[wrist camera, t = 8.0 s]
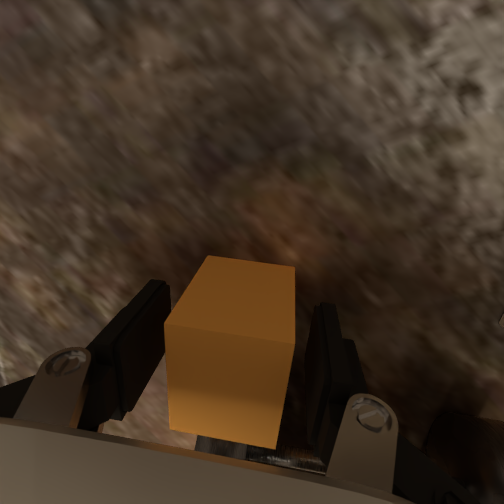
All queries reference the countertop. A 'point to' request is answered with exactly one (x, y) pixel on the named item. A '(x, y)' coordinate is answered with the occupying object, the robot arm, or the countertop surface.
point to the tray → (502, 321)
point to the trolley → (438, 450)
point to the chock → (231, 351)
